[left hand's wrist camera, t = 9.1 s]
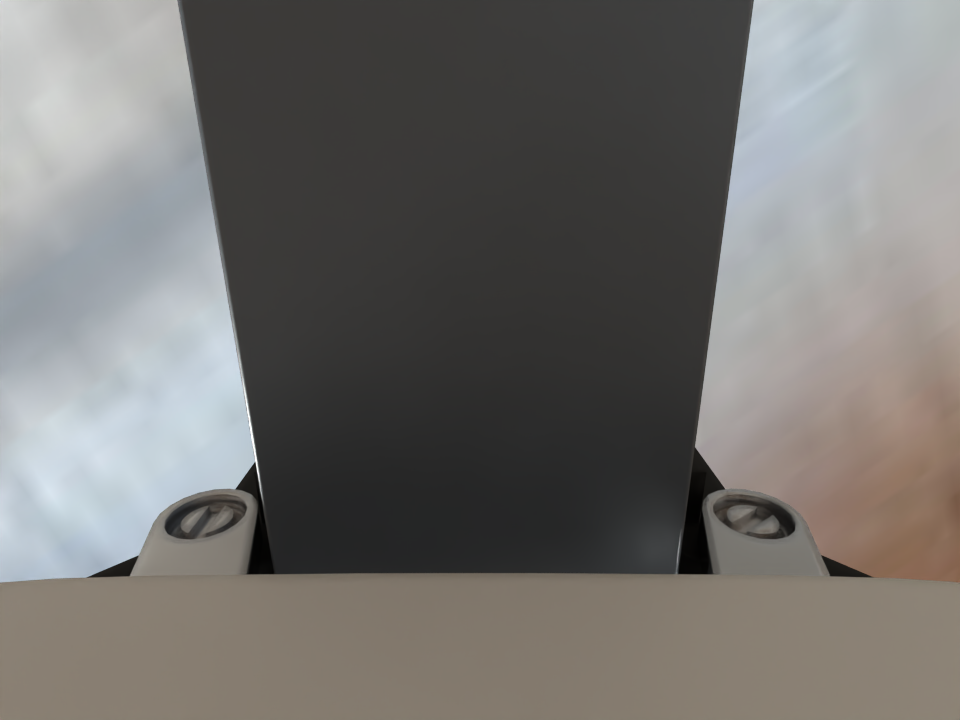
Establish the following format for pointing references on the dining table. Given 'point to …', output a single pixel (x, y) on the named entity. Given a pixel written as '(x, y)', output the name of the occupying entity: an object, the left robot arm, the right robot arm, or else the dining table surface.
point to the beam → (470, 269)
